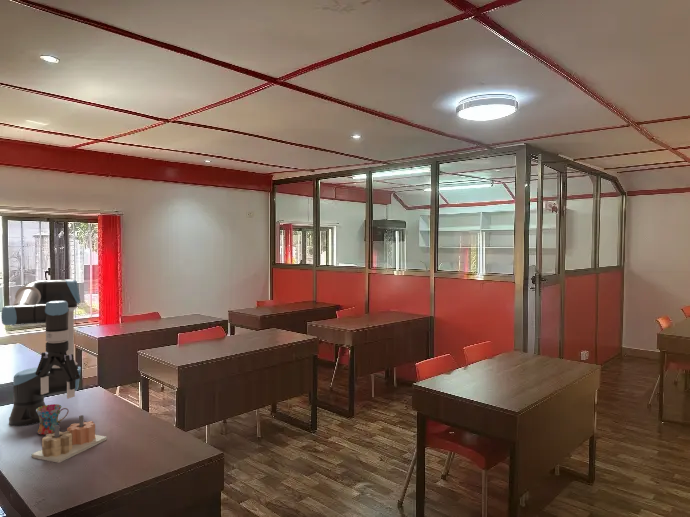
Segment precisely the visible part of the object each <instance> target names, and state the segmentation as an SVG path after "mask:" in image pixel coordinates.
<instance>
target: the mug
mask: <svg viewBox="0 0 690 517" xmlns="http://www.w3.org/2000/svg"><path fill="white" fill-rule="evenodd" d="M63 410H67V412H66V414H65V416H63V417H62V418H61V419H59V415H61V414H60V413H61V412H62V411H63ZM36 412H37V414H38V416H39V420H40V422H39V425H38V427H39V428H38V430H37V434H38V435H45V436H46V435H47V434H54V433H55V427H54V426H55V425H59V431H60V429H61V425H60V424H61V421H63V420H64V419H65V418H66V417H67V416H68V414H69V409H68V408H67V407H63V408H62V405H61V404H58V403H57V404H45V406H42V407H39V408H37V409H36Z"/></svg>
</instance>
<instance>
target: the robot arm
mask: <svg viewBox="0 0 690 517" xmlns="http://www.w3.org/2000/svg"><path fill="white" fill-rule="evenodd" d="M79 289H80V288H79V284H78V281H77V280H75V279H46V280H45V279H39V280H34V281H30V282H28V283H26V284H24V285H22V286H20V288H18V290H17V291H16V293H15V295H14V297H15V299H14V301H13V304H12V305H11V304H10V305H5V306H3V307H2V309H1V315H0V316H1V323H2V324H3V325H4V326H17V325H20V326H21V325H33V324H34V325H35V324H45V341H46V343H45V352H41V353H40V355H41V356H40V360H39V362H38V365H37V367H32V368H27V369H24V370H21V371H19V372H17V373H16V374H15V375H13V383H12V386H13V388H12V389H13V407H12V409H11V411H10V412H11V413H10V416H9V417H8V424H9V425H10V426H13V427H25V426H30V425H34V424H35V425H36V424H38V423H39V424H40V420H39V416H38V414H37V412H36V409H37V408H39V407H42V406H45V405H46V403H45V397H46V396H51V395H52V396H53V395H60V394H61V395H62V394H66V398H67V399H72V398H74V397H75V396H76V395H75V394H76V393H75V392H76V391H78V390H79V386H80V385H79V384H80V379H81V371H82V367H81V366H80V365H79V366H78V362H77V361H75V340H74V335H75V334H74V333H75V332H74V330H75V329H74V328H75V327H74V326H75V325H74V323H75V322H74V320H75V319H74V313H75V310H76V309H77V308H78V304H80V303H81V298H80V296H81V295H80V290H79Z"/></svg>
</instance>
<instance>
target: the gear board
mask: <svg viewBox="0 0 690 517" xmlns="http://www.w3.org/2000/svg"><path fill="white" fill-rule="evenodd" d="M84 418H85V417H84V415H83V414H82V415H78V423H75V422H74V423H72V424H70V426H68V427H67V430H66V431H70V434H72V449H71V450H69V452H68V453H66V454H60V455H58V456H49V457H44V454H42V449H40V450H38V451H35V452H33V453H32V454H31V458H33V459H39V460H43V461H44V460H45V461H47V462H53V463H58V464H60V463H61V462H62V463H63V462H64V461H66V460H68V459H70V458H72V457H74V456H76V455H78V454H80V453H83V452H84V451H87V450H88V449H90V448H92V447H94V446H96V445H98V444H100V443H102V442H105V441H107V438H108V437H107V436H106V435H105V436H104V435H99V434H96V423H95V422H94V421H92V420H89V421H84V420H85V419H84ZM59 426H60V424H59V425H55V426H54V427H55V438H58V437H59V432H60V430H59Z"/></svg>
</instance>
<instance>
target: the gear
mask: <svg viewBox="0 0 690 517" xmlns="http://www.w3.org/2000/svg"><path fill="white" fill-rule="evenodd" d="M71 449H72V434H70V431H67V430H66V431H59V437H58V438H55V433H52V434H46V435H45V436H44V437H41V450H42V454H44V457H49V456H58V455H60V454H66V453H68V452H69V450H71Z"/></svg>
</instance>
